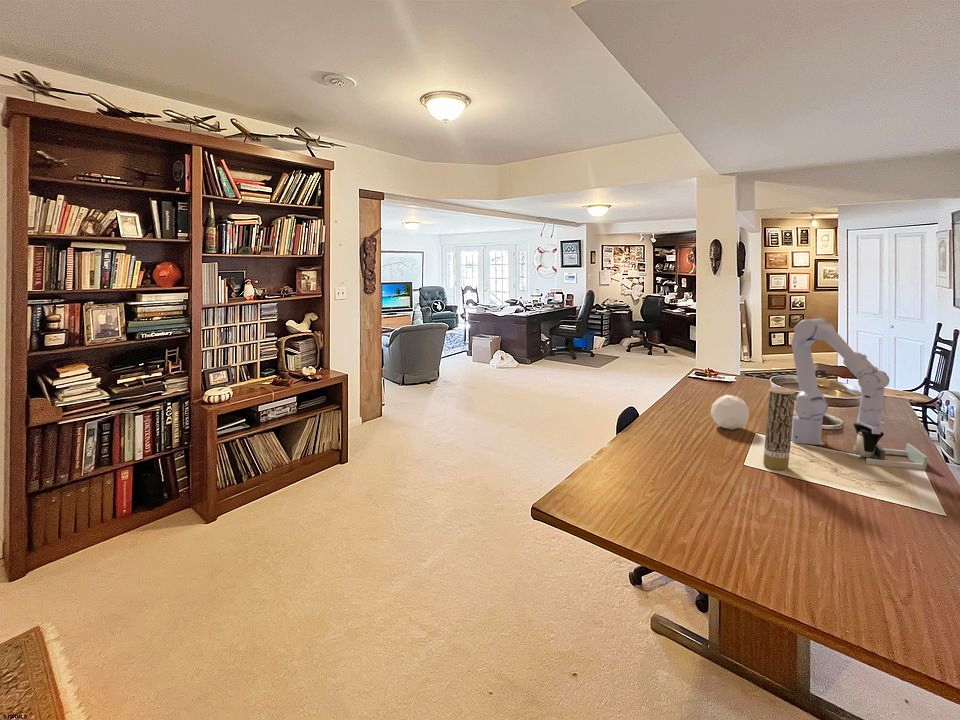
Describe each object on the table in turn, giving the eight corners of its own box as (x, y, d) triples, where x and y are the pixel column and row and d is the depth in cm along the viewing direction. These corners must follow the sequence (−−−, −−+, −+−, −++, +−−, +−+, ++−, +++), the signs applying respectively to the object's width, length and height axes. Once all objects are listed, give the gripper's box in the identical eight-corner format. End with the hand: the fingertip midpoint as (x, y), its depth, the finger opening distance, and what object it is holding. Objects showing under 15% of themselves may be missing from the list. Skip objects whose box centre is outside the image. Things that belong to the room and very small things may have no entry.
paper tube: (758, 463, 156) (764, 387, 152) (778, 461, 157) (785, 386, 152) (772, 471, 149) (779, 392, 145) (793, 470, 150) (800, 391, 146)
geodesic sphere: (698, 407, 200) (711, 386, 190) (729, 405, 201) (744, 384, 191) (713, 436, 190) (727, 416, 180) (745, 434, 192) (762, 414, 182)
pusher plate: (879, 462, 154) (881, 450, 153) (868, 451, 163) (869, 440, 162) (883, 463, 153) (885, 451, 152) (872, 452, 162) (873, 440, 162)
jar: (858, 456, 157) (861, 434, 156) (853, 451, 162) (855, 430, 161) (877, 458, 156) (880, 436, 154) (871, 452, 160) (873, 431, 159)
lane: (866, 463, 154) (868, 451, 153) (853, 450, 165) (854, 438, 165) (925, 469, 148) (927, 457, 148) (908, 455, 160) (909, 443, 159)
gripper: (895, 415, 148) (889, 457, 150) (877, 403, 161) (872, 442, 164) (866, 413, 151) (861, 455, 153) (851, 402, 164) (847, 440, 166)
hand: (865, 448), depth 158 cm, fingers closed on jar, 5 cm apart
